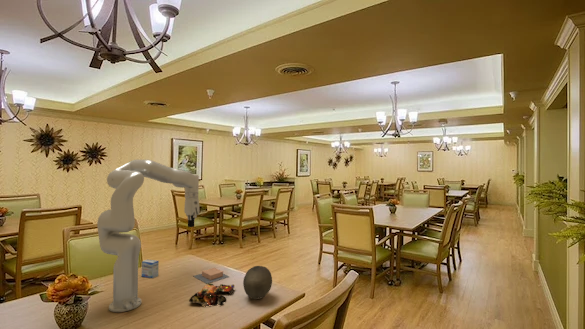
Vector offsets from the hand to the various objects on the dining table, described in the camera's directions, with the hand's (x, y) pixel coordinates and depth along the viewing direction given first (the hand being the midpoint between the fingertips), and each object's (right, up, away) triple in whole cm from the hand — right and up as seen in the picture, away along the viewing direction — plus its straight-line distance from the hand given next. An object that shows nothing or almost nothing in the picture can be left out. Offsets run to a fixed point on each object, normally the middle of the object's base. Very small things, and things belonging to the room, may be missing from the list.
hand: (191, 226), depth 171 cm
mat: (+14, -27, -6) cm, 31 cm away
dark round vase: (+43, -27, -33) cm, 61 cm away
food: (+21, -28, -31) cm, 46 cm away
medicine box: (-21, -27, -7) cm, 35 cm away
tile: (+11, -25, -3) cm, 28 cm away
